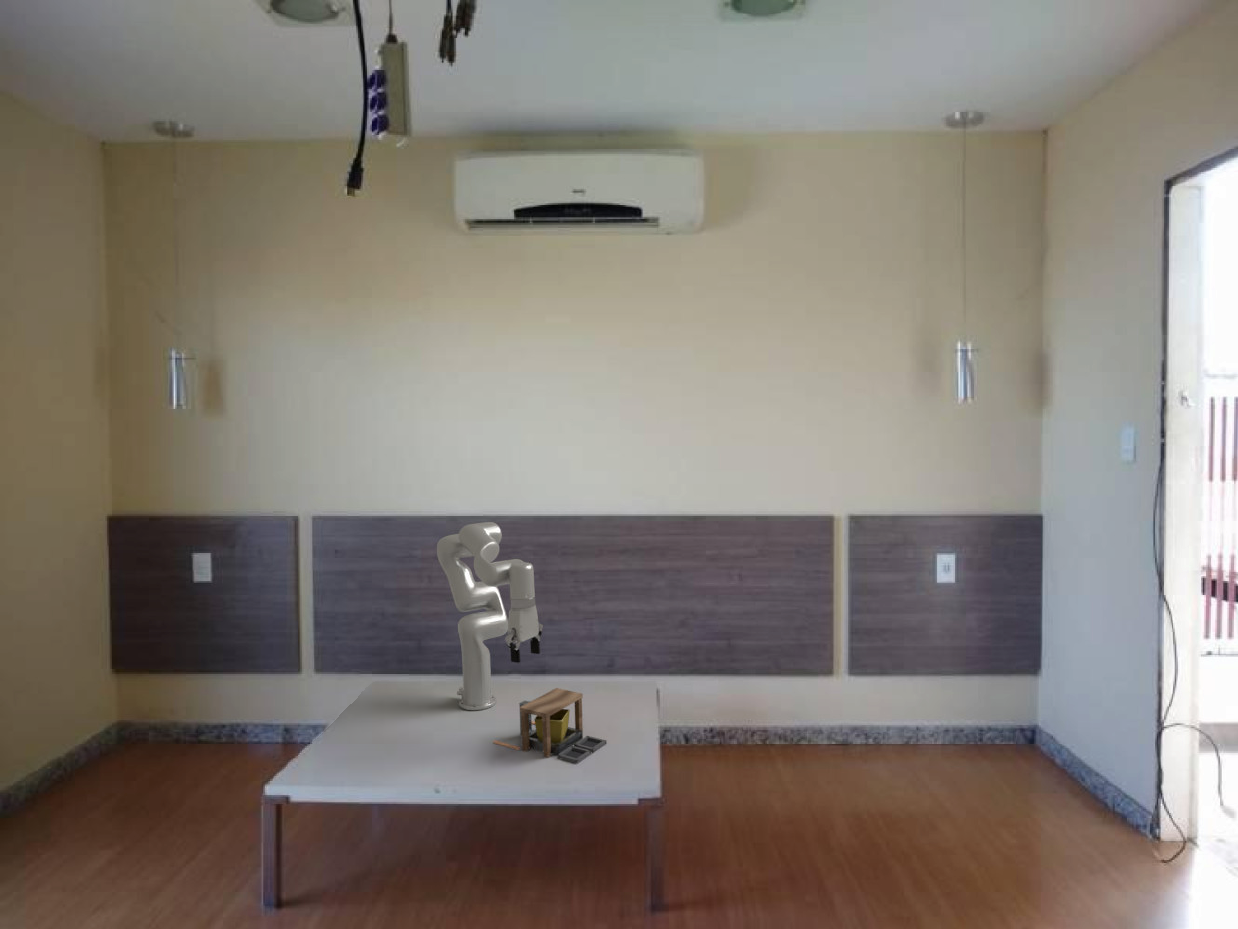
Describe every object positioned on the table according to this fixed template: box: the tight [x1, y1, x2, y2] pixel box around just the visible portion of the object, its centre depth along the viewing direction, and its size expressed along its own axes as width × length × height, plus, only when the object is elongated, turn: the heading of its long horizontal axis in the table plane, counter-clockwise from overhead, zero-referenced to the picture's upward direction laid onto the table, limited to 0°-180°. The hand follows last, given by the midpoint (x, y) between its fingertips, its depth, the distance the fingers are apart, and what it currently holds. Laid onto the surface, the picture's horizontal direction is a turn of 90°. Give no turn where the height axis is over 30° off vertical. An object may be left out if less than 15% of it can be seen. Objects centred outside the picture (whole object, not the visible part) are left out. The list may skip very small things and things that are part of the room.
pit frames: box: [557, 735, 607, 765], centre depth 224 cm, size 7×15×1 cm, turn 147°
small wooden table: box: [519, 687, 584, 758], centre depth 229 cm, size 10×18×13 cm, turn 147°
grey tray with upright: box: [518, 700, 584, 756], centre depth 231 cm, size 18×13×10 cm
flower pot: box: [533, 708, 570, 744], centre depth 229 cm, size 9×9×9 cm
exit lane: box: [492, 720, 535, 751], centre depth 235 cm, size 10×18×1 cm, turn 147°
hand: (525, 657), depth 235 cm, fingers open, 9 cm apart
